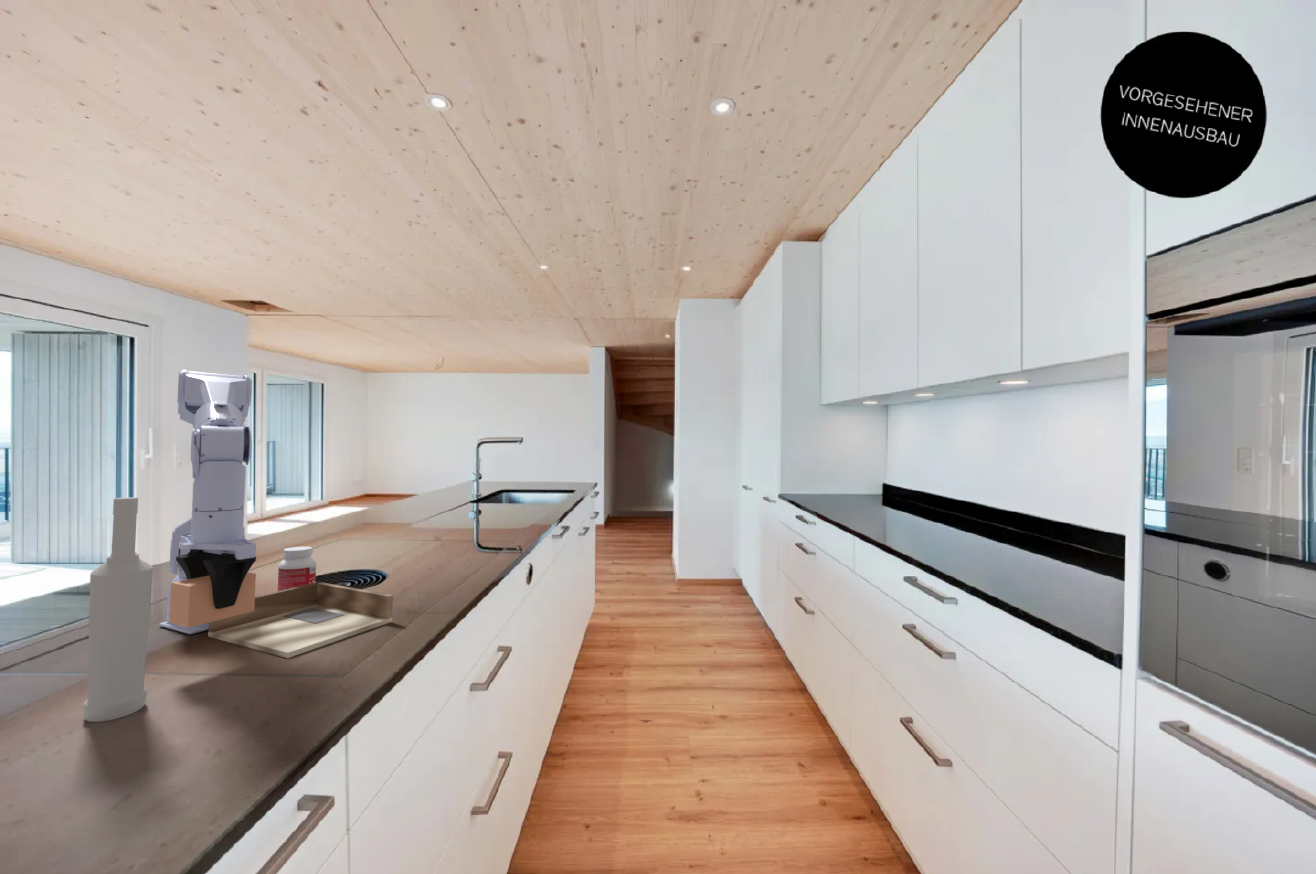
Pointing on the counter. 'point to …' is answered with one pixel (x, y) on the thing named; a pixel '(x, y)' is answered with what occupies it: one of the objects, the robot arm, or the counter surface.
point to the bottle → (118, 623)
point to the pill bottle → (296, 568)
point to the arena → (304, 618)
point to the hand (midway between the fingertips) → (214, 604)
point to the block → (206, 601)
